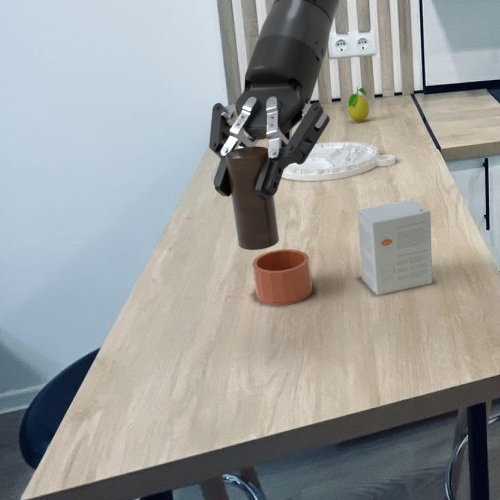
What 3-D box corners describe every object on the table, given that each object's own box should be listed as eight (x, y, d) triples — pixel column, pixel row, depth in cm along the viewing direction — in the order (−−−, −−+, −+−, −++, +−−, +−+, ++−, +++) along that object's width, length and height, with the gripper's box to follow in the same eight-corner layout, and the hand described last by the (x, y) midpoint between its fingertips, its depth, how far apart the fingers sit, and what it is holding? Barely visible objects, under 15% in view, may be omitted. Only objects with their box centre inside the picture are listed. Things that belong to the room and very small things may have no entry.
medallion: (291, 152, 160) (290, 143, 160) (403, 149, 150) (403, 139, 149) (258, 182, 141) (257, 171, 140) (385, 180, 130) (384, 169, 130)
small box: (414, 269, 92) (412, 198, 88) (433, 284, 87) (431, 210, 83) (361, 280, 91) (356, 209, 87) (376, 297, 86) (372, 222, 82)
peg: (286, 236, 71) (276, 146, 68) (265, 252, 68) (253, 159, 64) (253, 232, 74) (241, 145, 70) (230, 247, 71) (217, 157, 67)
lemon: (368, 118, 184) (365, 82, 180) (374, 122, 179) (372, 85, 175) (344, 122, 184) (342, 86, 180) (350, 126, 178) (348, 89, 174)
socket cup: (321, 285, 91) (318, 252, 89) (294, 310, 85) (290, 276, 84) (275, 278, 95) (271, 246, 93) (246, 301, 90) (241, 268, 88)
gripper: (218, 36, 73) (167, 174, 68) (335, 27, 65) (285, 183, 60) (251, 76, 78) (205, 205, 74) (361, 72, 71) (317, 216, 66)
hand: (241, 194), depth 67 cm, fingers closed on peg, 4 cm apart
